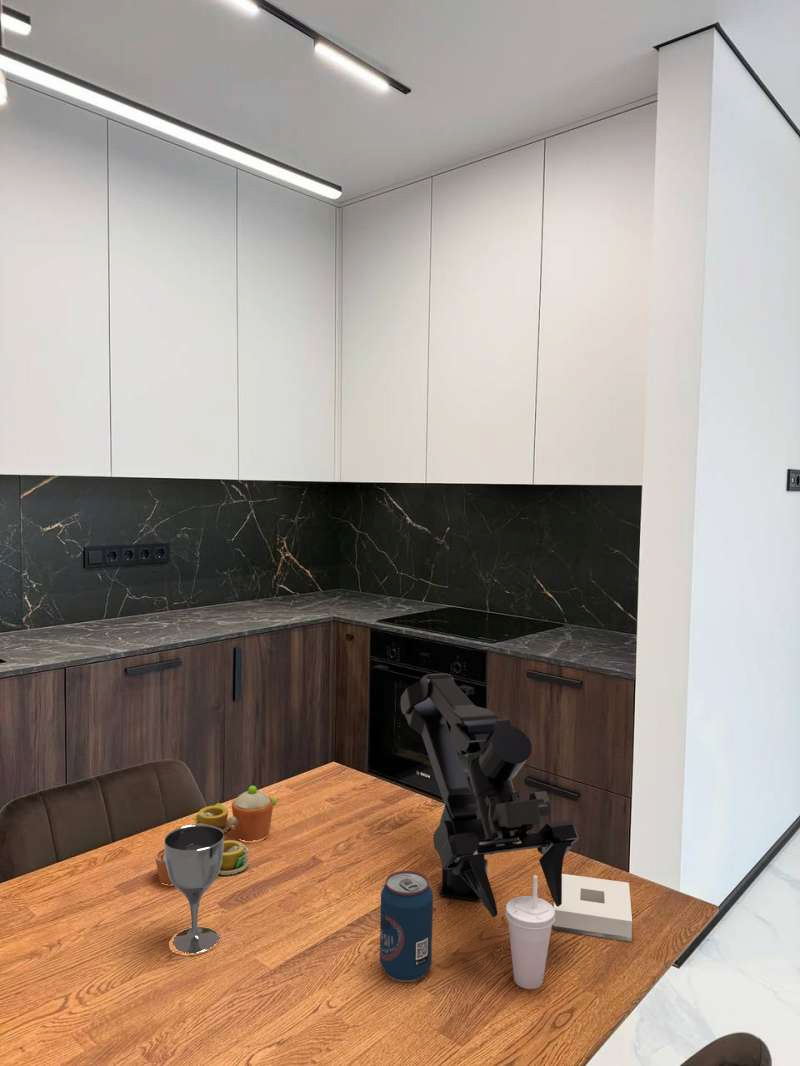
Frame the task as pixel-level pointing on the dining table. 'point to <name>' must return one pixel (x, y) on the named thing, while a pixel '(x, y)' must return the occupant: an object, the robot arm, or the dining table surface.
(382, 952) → the soda can
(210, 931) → the wine glass
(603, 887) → the flat gift box
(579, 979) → the dining table surface
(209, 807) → the toy tea set
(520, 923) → the smoothie
